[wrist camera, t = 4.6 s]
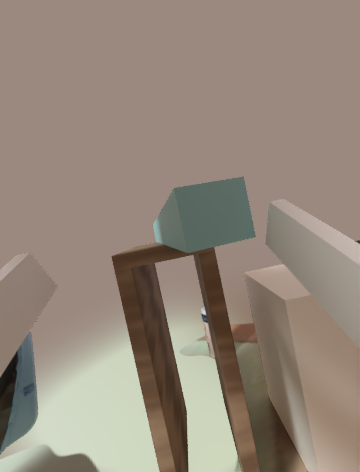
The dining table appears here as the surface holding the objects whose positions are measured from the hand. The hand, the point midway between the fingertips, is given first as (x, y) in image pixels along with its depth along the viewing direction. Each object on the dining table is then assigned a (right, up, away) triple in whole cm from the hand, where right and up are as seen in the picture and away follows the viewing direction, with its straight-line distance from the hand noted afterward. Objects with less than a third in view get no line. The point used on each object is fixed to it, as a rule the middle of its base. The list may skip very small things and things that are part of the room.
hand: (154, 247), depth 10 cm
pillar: (+22, -26, +15) cm, 37 cm away
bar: (+1, 0, +10) cm, 10 cm away
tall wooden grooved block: (+6, -29, +15) cm, 33 cm away
